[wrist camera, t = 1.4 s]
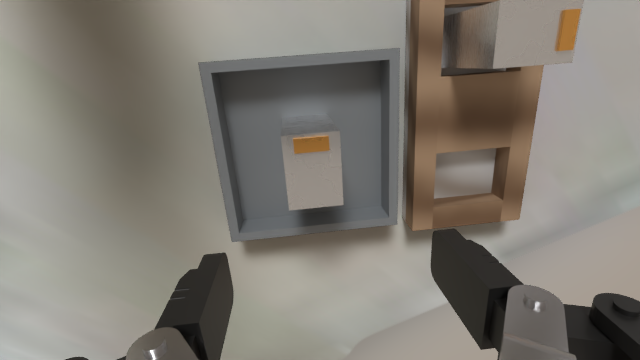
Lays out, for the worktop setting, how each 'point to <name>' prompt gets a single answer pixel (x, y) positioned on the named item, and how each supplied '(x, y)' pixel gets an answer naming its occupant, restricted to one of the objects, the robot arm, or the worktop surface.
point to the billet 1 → (312, 161)
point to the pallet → (462, 129)
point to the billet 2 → (511, 34)
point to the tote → (301, 100)
